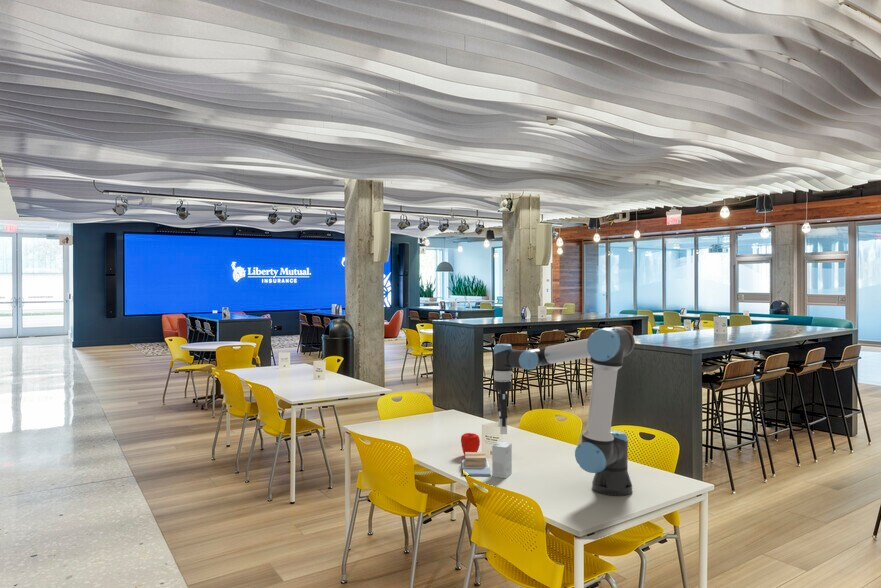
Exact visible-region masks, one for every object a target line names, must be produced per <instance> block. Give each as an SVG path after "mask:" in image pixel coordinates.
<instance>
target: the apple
mask: <svg viewBox="0 0 881 588" xmlns="http://www.w3.org/2000/svg"><path fill="white" fill-rule="evenodd" d="M460 443H461V448H462V449H461V450H462V453H463V455H464V456H465V452H479V448H480V444H481V440H480V436H479V435H478V434H476V433H471V432H465V433H463V434H462V435H461V436H460Z"/></svg>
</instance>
